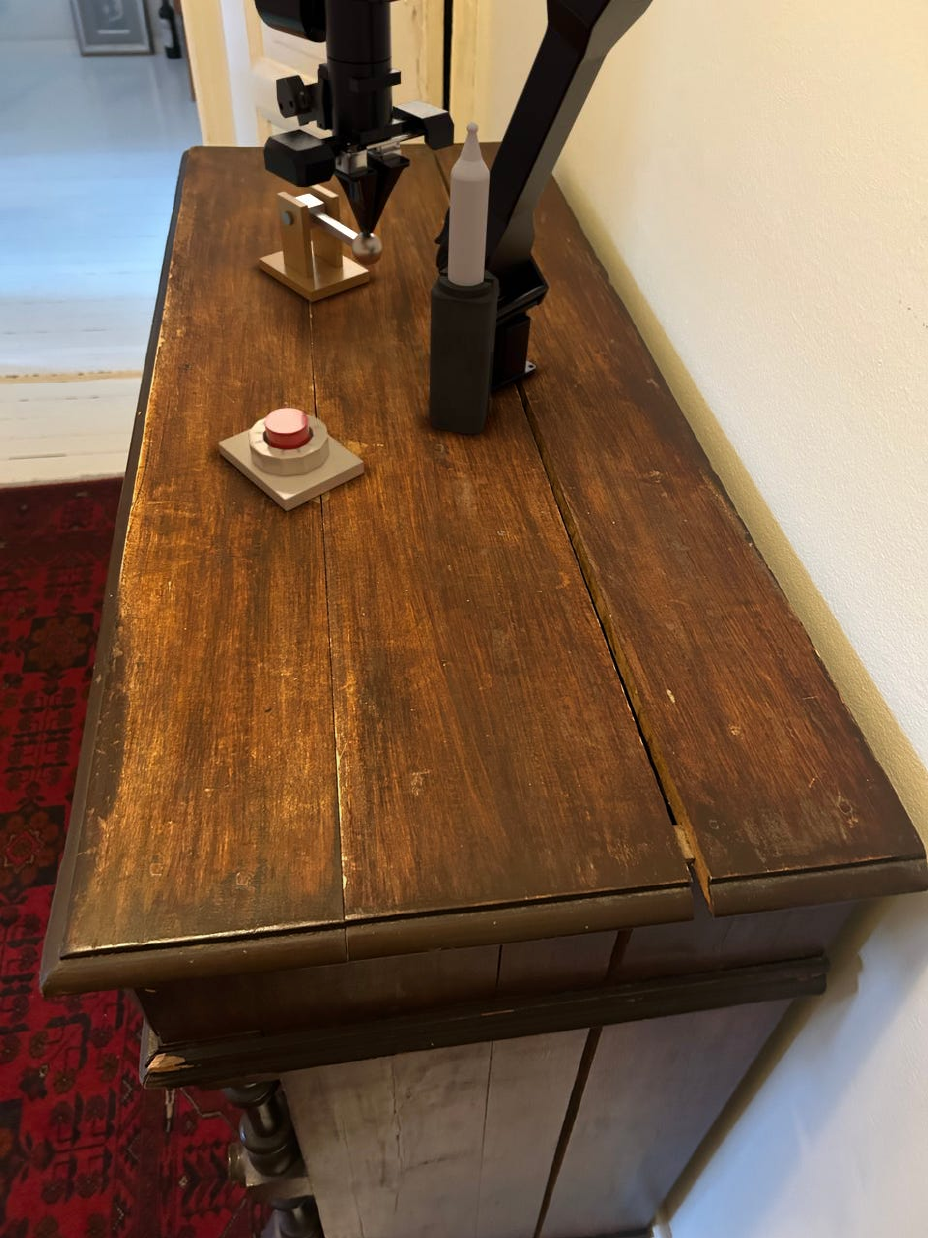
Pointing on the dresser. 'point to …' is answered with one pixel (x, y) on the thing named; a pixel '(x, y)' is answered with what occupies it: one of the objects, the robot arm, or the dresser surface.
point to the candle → (464, 304)
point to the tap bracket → (311, 250)
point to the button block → (292, 463)
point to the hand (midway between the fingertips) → (366, 232)
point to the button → (287, 429)
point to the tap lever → (344, 232)
